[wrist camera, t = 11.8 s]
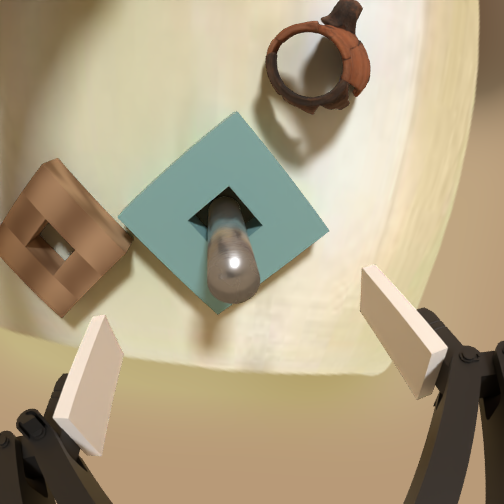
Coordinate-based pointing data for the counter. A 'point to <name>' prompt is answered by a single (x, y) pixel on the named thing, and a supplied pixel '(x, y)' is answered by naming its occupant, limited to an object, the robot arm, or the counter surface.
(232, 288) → the pin
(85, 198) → the pin mount
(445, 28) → the counter surface
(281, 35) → the brown ring with knob
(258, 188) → the dock socket
